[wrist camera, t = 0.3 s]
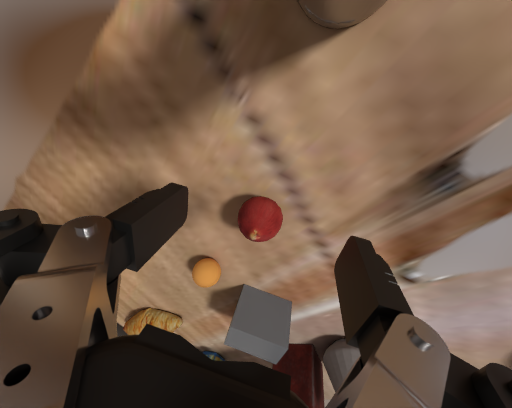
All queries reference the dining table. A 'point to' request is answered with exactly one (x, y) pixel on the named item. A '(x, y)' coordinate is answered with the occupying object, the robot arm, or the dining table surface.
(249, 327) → the grey rectangular box
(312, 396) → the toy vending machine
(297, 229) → the dining table surface
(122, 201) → the dining table surface
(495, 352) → the dining table surface
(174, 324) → the croissant
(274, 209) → the onion
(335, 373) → the coffee pot
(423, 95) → the dining table surface
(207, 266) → the ball
